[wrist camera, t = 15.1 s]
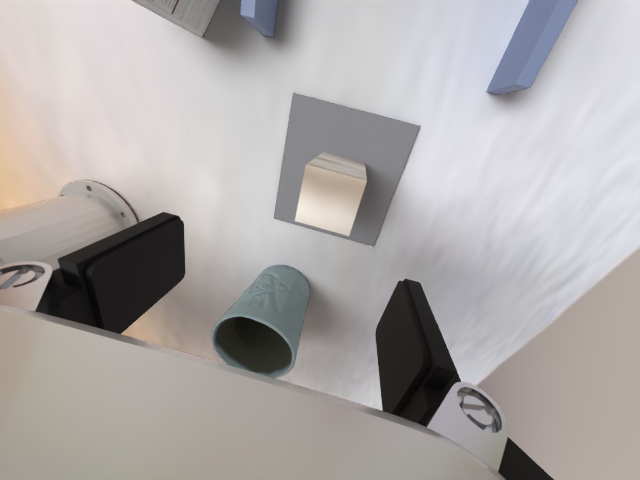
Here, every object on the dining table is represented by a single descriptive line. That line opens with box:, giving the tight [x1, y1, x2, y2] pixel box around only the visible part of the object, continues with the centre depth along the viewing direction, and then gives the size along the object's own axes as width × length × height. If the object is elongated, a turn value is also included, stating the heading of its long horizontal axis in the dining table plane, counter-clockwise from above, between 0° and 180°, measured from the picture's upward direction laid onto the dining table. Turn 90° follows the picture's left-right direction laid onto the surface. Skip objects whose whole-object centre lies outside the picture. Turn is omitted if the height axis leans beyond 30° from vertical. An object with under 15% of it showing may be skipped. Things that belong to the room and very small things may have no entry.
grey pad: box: [274, 93, 420, 246], centre depth 29 cm, size 15×14×1 cm
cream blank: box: [295, 152, 367, 236], centre depth 24 cm, size 5×5×10 cm
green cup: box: [212, 265, 310, 378], centre depth 33 cm, size 10×10×12 cm
